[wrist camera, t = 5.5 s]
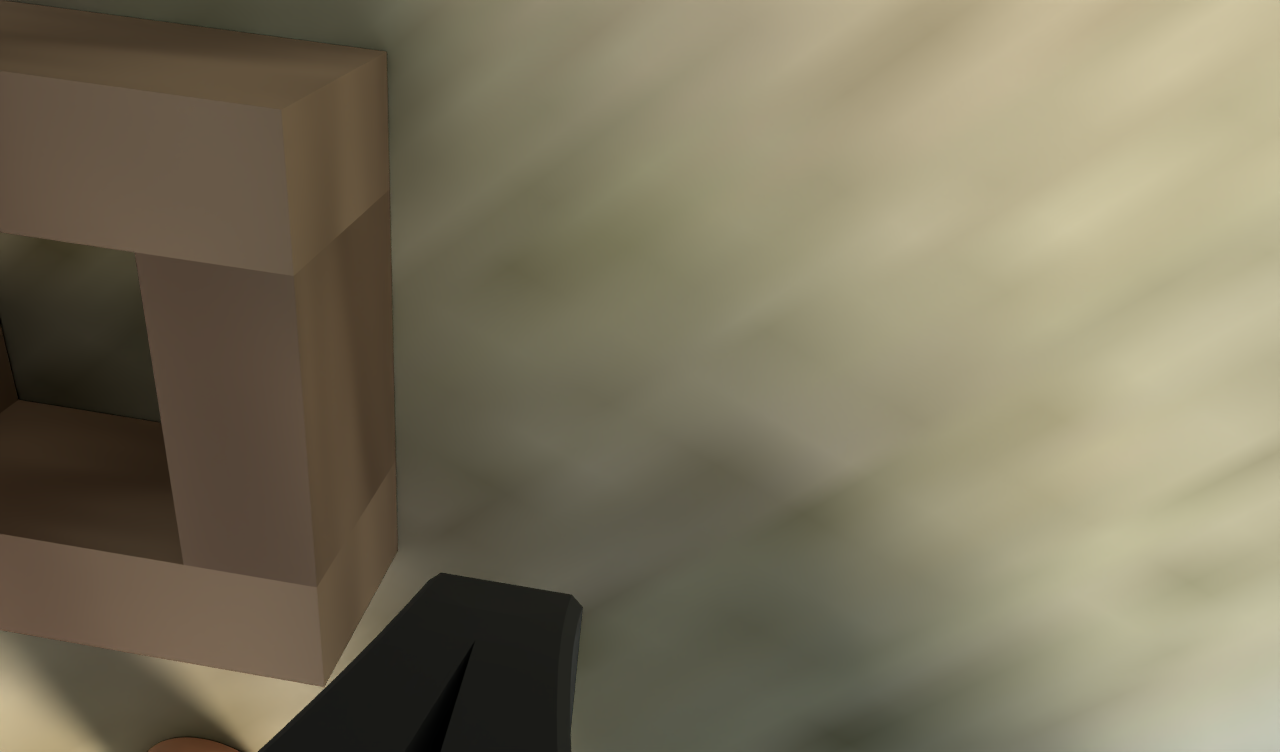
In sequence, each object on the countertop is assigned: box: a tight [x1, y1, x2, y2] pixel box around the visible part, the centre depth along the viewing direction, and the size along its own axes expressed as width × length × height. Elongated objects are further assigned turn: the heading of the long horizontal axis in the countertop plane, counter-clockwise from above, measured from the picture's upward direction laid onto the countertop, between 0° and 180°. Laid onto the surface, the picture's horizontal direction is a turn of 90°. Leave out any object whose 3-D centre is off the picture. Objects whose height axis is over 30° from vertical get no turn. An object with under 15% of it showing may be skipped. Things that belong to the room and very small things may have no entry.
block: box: [0, 0, 398, 687], centre depth 13 cm, size 8×8×3 cm
